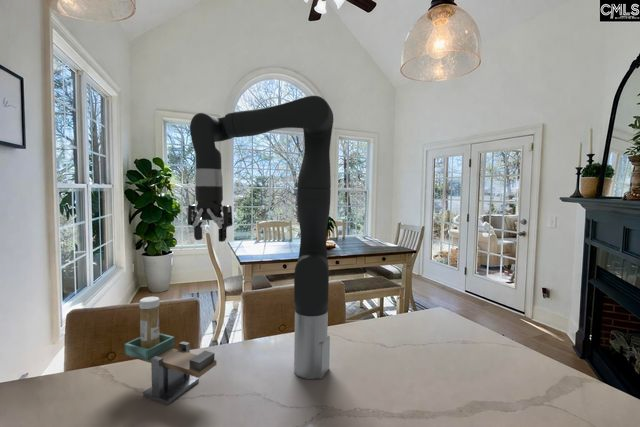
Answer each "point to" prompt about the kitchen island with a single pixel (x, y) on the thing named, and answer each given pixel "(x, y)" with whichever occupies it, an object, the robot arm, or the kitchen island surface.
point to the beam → (172, 356)
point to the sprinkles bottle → (149, 322)
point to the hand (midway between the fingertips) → (210, 240)
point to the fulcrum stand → (168, 380)
